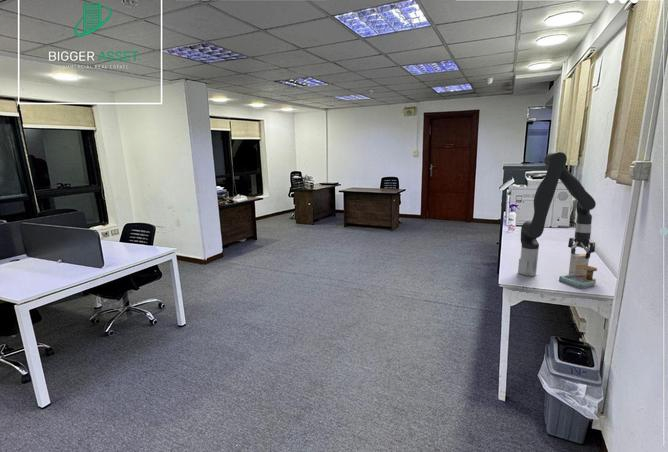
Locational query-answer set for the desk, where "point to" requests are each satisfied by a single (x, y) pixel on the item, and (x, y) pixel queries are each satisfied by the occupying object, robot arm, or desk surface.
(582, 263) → the supplement box
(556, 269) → the desk surface
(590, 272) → the stool
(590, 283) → the tray
